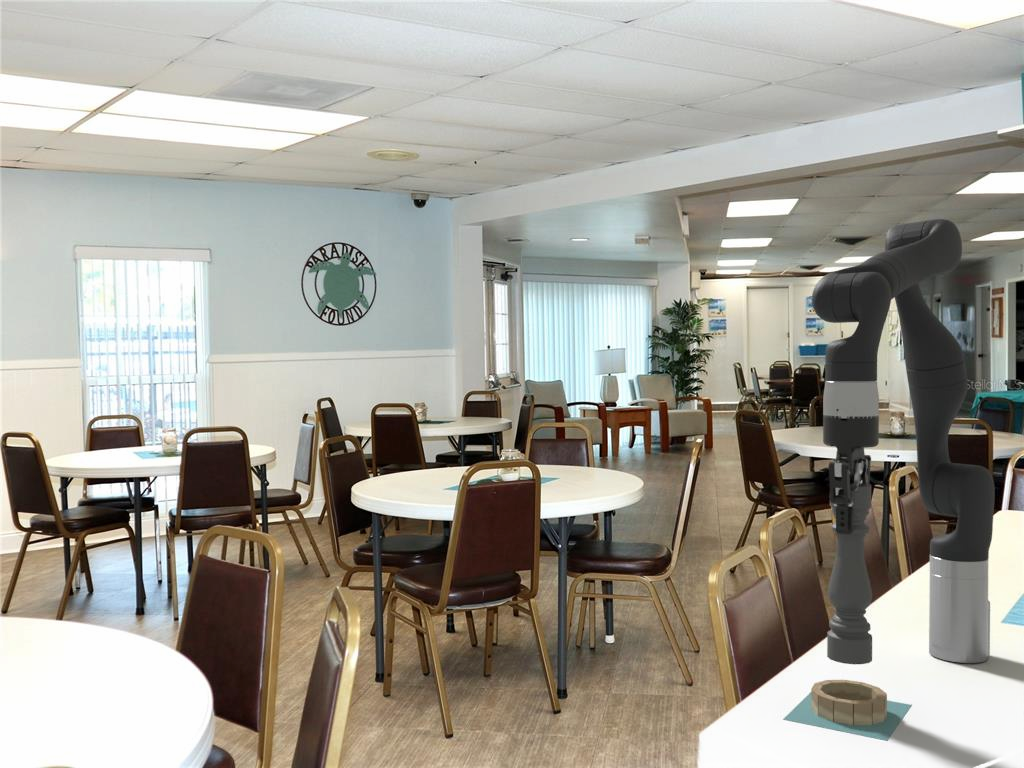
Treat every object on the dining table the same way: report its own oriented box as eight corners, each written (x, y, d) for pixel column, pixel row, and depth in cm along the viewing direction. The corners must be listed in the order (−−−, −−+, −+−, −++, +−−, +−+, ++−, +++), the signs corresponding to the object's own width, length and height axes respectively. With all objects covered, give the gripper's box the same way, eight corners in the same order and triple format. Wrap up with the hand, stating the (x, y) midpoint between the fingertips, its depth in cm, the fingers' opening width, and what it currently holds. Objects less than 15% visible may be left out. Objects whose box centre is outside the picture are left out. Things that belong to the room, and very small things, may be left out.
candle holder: (843, 666, 135) (844, 488, 134) (818, 653, 141) (819, 482, 140) (881, 662, 136) (882, 486, 136) (855, 649, 142) (856, 481, 142)
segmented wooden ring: (842, 695, 145) (842, 675, 145) (900, 715, 137) (901, 694, 137) (797, 708, 140) (797, 687, 140) (855, 730, 132) (855, 708, 132)
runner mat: (815, 689, 149) (815, 687, 149) (911, 707, 141) (911, 704, 141) (783, 722, 136) (783, 719, 136) (887, 743, 128) (887, 740, 128)
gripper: (837, 410, 146) (837, 521, 146) (809, 414, 134) (809, 535, 134) (889, 411, 142) (888, 525, 142) (865, 416, 130) (865, 540, 130)
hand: (850, 529), depth 138 cm, fingers closed on candle holder, 5 cm apart
